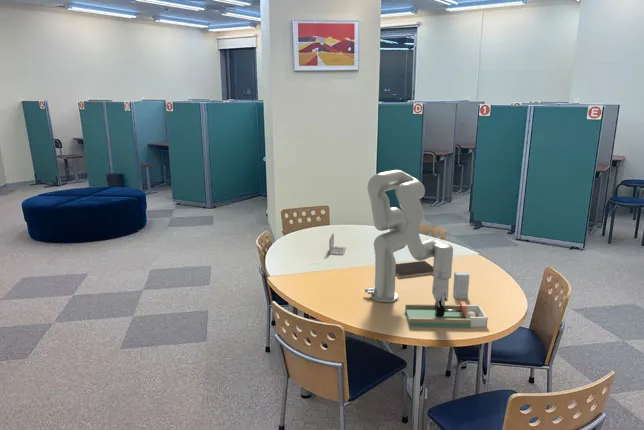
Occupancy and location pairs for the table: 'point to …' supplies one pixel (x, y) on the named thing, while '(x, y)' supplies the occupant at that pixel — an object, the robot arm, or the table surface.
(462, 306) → the kicker rod
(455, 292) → the skincare box
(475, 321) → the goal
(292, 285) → the table surface
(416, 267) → the hardcover book
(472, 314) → the ball
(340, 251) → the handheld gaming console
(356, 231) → the table surface
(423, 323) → the pitch board
